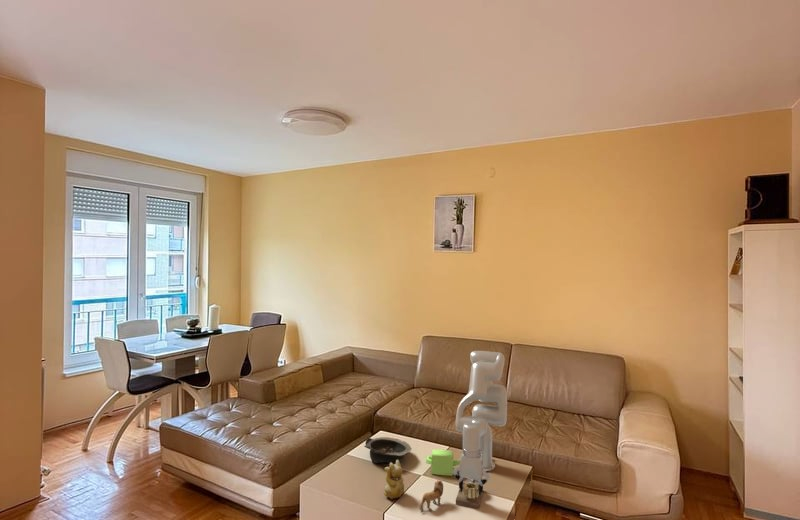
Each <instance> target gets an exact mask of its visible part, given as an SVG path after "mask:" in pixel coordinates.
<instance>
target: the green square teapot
mask: <svg viewBox="0 0 800 520" xmlns="http://www.w3.org/2000/svg"><path fill="white" fill-rule="evenodd" d="M425 464H428V465H431V467H430V469H431V470H430V471H431V472H430V473H431V474H432V475H439V476H449V477H450V476H454V474H453V472H452V471H453V470H454V467H455V466H460V459H456V460H454V451H453V450H449V449H448V450H447V449H436V448H433V449H432V450H431V455H427V456H426V458H425Z"/></svg>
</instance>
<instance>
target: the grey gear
mask: <svg viewBox="0 0 800 520" xmlns="http://www.w3.org/2000/svg"><path fill="white" fill-rule="evenodd" d="M467 481H469V482H471V481H472V482H473V483H477V485H479V482H478V480H474V479H468V478H465V480H464V482H465V483H467Z"/></svg>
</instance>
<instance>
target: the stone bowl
mask: <svg viewBox="0 0 800 520" xmlns="http://www.w3.org/2000/svg"><path fill="white" fill-rule="evenodd" d="M363 447H364V448H366V449H368V450H369V457H370V460H371V462H372V463H374V464H381V463H388V465H390V463H393V464H396V460H399V462H402V460H403V458H404V457H405V455H406V454H408V453H410V452H411V451H412V450H413V449H412V446H411V445H410V444H409V443H408V442H406V441H405V440H401V439H399V438H394V437H389V436H384V437H383V436H382V437H376V438H371V437H369V438H367V439H366V440H365V445H364V446H363Z"/></svg>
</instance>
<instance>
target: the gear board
mask: <svg viewBox="0 0 800 520" xmlns="http://www.w3.org/2000/svg"><path fill="white" fill-rule="evenodd" d="M463 484H464V482H463ZM482 496H483V493H482V492H481V495H479V496H478V497H475V498H474V499H473V498H472V497H471V498H469V497H465V495H463V493H462V492H460V488H458V493H457V495H456V498H455V505H457V506H461V507H466V508H467V507H468V508H472V509H473V508H474V509H477V508H479V509H480V506H479V505H481V502H482Z"/></svg>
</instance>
